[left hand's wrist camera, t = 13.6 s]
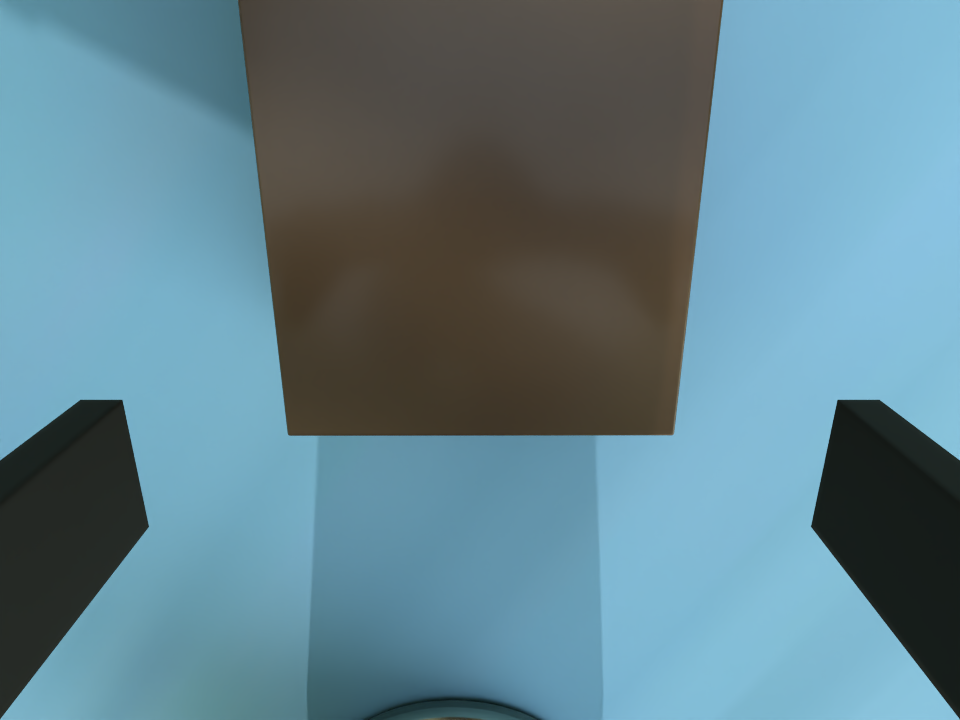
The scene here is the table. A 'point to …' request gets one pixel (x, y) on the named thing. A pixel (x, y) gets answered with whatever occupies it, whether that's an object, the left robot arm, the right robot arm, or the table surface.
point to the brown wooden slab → (480, 209)
